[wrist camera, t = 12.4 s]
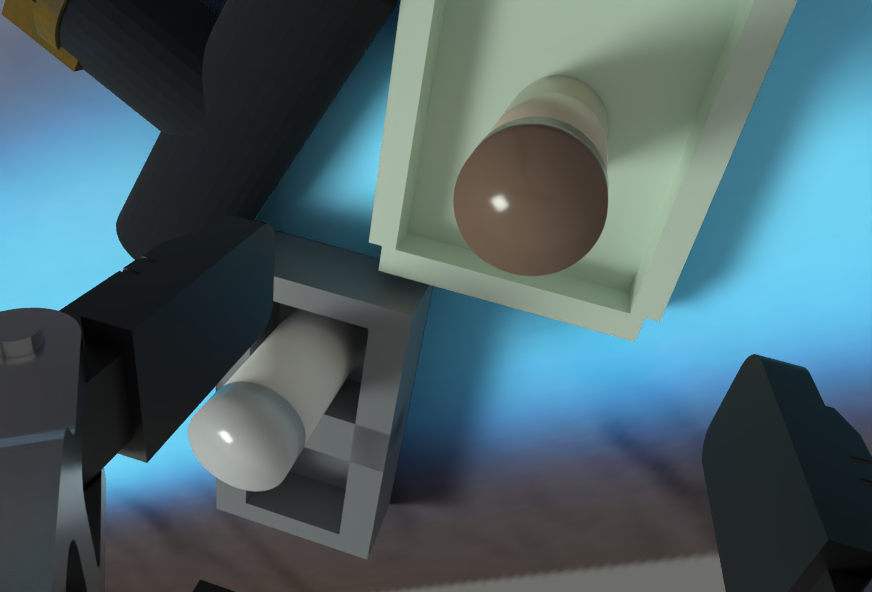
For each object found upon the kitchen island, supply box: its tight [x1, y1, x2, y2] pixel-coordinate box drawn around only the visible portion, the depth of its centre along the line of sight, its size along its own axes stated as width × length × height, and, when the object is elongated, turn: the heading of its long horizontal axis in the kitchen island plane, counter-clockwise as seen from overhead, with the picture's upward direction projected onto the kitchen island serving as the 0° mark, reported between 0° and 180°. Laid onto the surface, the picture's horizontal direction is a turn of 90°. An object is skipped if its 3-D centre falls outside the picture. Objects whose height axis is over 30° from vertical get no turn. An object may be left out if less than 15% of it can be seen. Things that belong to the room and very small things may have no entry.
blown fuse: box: [453, 76, 609, 276], centre depth 20 cm, size 4×4×9 cm
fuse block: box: [216, 230, 433, 559], centre depth 32 cm, size 16×9×4 cm, turn 170°
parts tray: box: [369, 0, 798, 342], centre depth 24 cm, size 14×12×2 cm
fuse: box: [188, 308, 368, 491], centre depth 27 cm, size 4×4×9 cm
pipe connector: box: [2, 0, 398, 260], centre depth 25 cm, size 12×5×15 cm
